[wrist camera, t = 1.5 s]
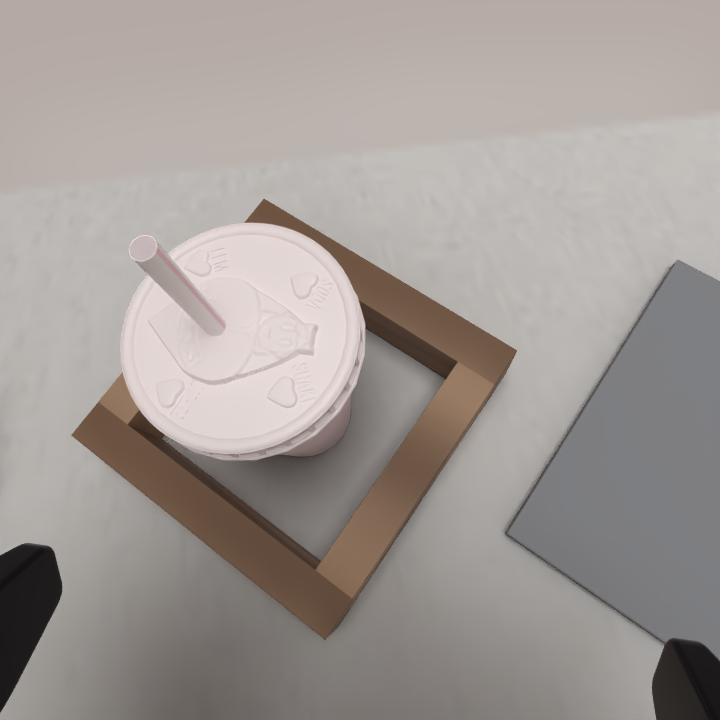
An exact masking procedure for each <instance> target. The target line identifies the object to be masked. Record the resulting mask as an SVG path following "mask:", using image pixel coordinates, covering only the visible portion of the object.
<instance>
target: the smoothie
mask: <svg viewBox="0 0 720 720" xmlns="http://www.w3.org/2000/svg"><path fill="white" fill-rule="evenodd" d="M129 255H130V256H131V258H132V259H133V260H134V261H135V262H136V263H137V264H138V265H139V266H140V267H141V268H142V269H143V270H144V271H145V272H146V273H147V275H146V277H145V278H144V279H143V281H142V282H141V284H140V285H139V287H138V288H137V290H136V292H135V294H134V296H133V298H132V300H131V302H130V305H129V307H128V309H127V313H126V316H125V319H124V323H123V328H122V334H121V345H120V354H121V365H122V370H123V375H124V378H125V382H126V385H127V387H128V390H129V392H130V395H131V397H132V398H133V400H134V402H135V404H136V405H137V407H138V408H139V410H140V411H141V412H142V414H143V415H144V416H145V417H146V418H147V419H148V421H149V422H150V423H151V424H152V425H154V426H155V427H156V428H157V429H158V430H159V431H161V432H162V433H164V434H165V435H166V436H168V437H169V438H171V439H173V440H175V441H176V442H178V443H179V444H181V445H183V446H184V447H186V448H187V449H189V450H191V451H192V452H194V453H198V454H202V455H205V456H209V457H212V458H216V459H220V460H223V461H238V460H259V459H263V458H267V457H270V456H274V455H278V454H281V455H290V456H299V457H309V456H315V455H318V454H321V453H323V452H325V451H327V450H329V449H330V448H332V447H333V446H334V445H335V444H336V443H337V442H338V441H339V440H340V439H341V438H342V436H343V435H344V433H345V431H346V429H347V427H348V424H349V421H350V414H351V396H352V391H353V390H354V388H355V386H356V385H357V381H358V378H359V374H360V371H361V367H362V364H363V360H364V357H365V321H364V317H363V314H362V310H361V307H360V303H359V299H358V296H357V295H356V293H355V291H354V290H353V287H352V285H351V283H350V281H349V279H348V277H347V275H346V274H345V272H344V270H343V269H342V267H341V266H340V265H339V263H338V262H337V261H336V260H335V259H334V258H333V256H332V255H331V254H330V253H329V252H328V251H326V250H325V249H324V248H323V247H322V246H321V245H319V244H318V243H316V242H315V241H313V240H312V239H310V238H308V237H307V236H305V235H303V234H301V233H298V232H296V231H294V230H291V229H288V228H285V227H281V226H277V225H272V224H264V223H238V224H231V225H226V226H221V227H217V228H214V229H211V230H208V231H205V232H203V233H200V234H198V235H196V236H194V237H192V238H190V239H188V240H186V241H185V242H183V243H181V244H180V245H178V246H177V247H175V248H174V249H173V250H171V251H170V252H169V253H166V252H165V251H164V249H163V248H162V247H161V246H160V245H159V244H158V242H157V241H156V240H155V239H154V238H153V237H151V236H149V235H142V236H139V237H137V238H135V239H134V240H133V241H132V242H131V244H130V246H129Z"/></svg>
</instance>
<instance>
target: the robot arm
mask: <svg viewBox="0 0 720 720" xmlns="http://www.w3.org/2000/svg"><path fill="white" fill-rule="evenodd" d="M61 594H62V581H61V577H60V573H59V569H58V565H57V561H56V557H55V553H54V551H53V549H52V548H51V547H49V546H45V545H39V544H32V543H25V544H21V545H19V546H17V547H15V548H13V549H11V550H10V551H8V552H6V553H4V554H2V555H0V712H1V711H2V709H3V707H4V706H5V704H6V702H7V701H8V699H9V697H10V695H11V694H12V692H13V690H14V688H15V686H16V685H17V683H18V681H19V679H20V677H21V675H22V673H23V671H24V669H25V667H26V665H27V663H28V661H29V659H30V657H31V655H32V653H33V652H34V650H35V648H36V646H37V644H38V642H39V640H40V638H41V636H42V634H43V632H44V630H45V628H46V626H47V624H48V622H49V620H50V618H51V616H52V614H53V612H54V611H55V609H56V607H57V605H58V603H59V600H60V597H61ZM652 695H653V702H654V708H655V714H656V720H720V660H719V659H718V658H717V657H716V656H715V655H714V654H713V653H712V652H711V651H710V650H709V648H707V647H706V646H705V645H704V644H702V643H700V642H698V641H692V640H685V639H678V638H670V639H669V640H668V641H667V642H666V644H665V646H664V648H663V651H662V654H661V657H660V660H659V662H658V665H657V668H656V671H655V673H654V677H653V682H652Z"/></svg>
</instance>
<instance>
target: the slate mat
mask: <svg viewBox="0 0 720 720" xmlns="http://www.w3.org/2000/svg"><path fill="white" fill-rule="evenodd" d="M505 534H506V535H508V536H509V537H511V538H512V539H514V540H515V541H516V542H518V543H519V544H521V545H522V546H524V547H525V548H527V549H528V550H529V551H531V552H532V553H534V554H535V555H537V556H538V557H540V558H541V559H543V560H544V561H545V562H547V563H548V564H550V565H551V566H553V567H554V568H556V569H557V570H559V571H560V572H561V573H563V574H564V575H566V576H567V577H569V578H570V579H572V580H573V581H574V582H576V583H577V584H579V585H580V586H582V587H583V588H585V589H586V590H588V591H589V592H590V593H592V594H593V595H595V596H596V597H598V598H599V599H601V600H602V601H604V602H605V603H606V604H608V605H609V606H611V607H612V608H614V609H615V610H617V611H618V612H619V613H621V614H622V615H624V616H625V617H627V618H628V619H630V620H631V621H633V622H634V623H635V624H637V625H638V626H640V627H641V628H643V629H644V630H646V631H647V632H649V633H650V634H651V635H653V636H654V637H656V638H657V639H659V640H660V641H662V642H663V643H664V644H666V642H667V641H668V640H669V639H670V638H678V639H685V640H692V641H698V642H700V643H702V644H704V645H705V646H706V647H707V648H709V650H710V651H711V652H712V653H713V654H714V655H715V656H716V657H717V658H718V659H719V660H720V281H718V280H716V279H714V278H712V277H710V276H709V275H707V274H705V273H703V272H701V271H699V270H697V269H695V268H693V267H691V266H689V265H687V264H685V263H684V262H682V261H680V260H677V261H676V262H675V263H674V264H673V265H672V267H671V268H670V270H669V272H668V273H667V275H666V276H665V278H664V280H663V281H662V283H661V284H660V286H659V288H658V289H657V291H656V292H655V294H654V296H653V297H652V299H651V300H650V302H649V304H648V305H647V307H646V308H645V310H644V312H643V313H642V315H641V316H640V318H639V320H638V321H637V323H636V324H635V326H634V328H633V329H632V331H631V333H630V334H629V336H628V337H627V339H626V341H625V342H624V344H623V345H622V347H621V349H620V350H619V352H618V353H617V355H616V357H615V358H614V360H613V361H612V363H611V365H610V366H609V368H608V369H607V371H606V373H605V374H604V376H603V377H602V379H601V381H600V382H599V384H598V385H597V387H596V389H595V390H594V392H593V393H592V395H591V397H590V398H589V400H588V401H587V403H586V405H585V406H584V408H583V409H582V411H581V413H580V414H579V416H578V418H577V419H576V421H575V422H574V424H573V426H572V427H571V429H570V430H569V432H568V434H567V435H566V437H565V438H564V440H563V442H562V443H561V445H560V446H559V448H558V450H557V451H556V453H555V454H554V456H553V458H552V459H551V461H550V462H549V464H548V466H547V467H546V469H545V470H544V472H543V474H542V475H541V477H540V478H539V480H538V482H537V483H536V485H535V486H534V488H533V490H532V491H531V493H530V494H529V496H528V498H527V499H526V501H525V503H524V504H523V506H522V507H521V509H520V511H519V512H518V514H517V515H516V517H515V519H514V520H513V522H512V523H511V525H510V527H509V528H508V530H507V531H506V533H505Z"/></svg>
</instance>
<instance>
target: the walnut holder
mask: <svg viewBox="0 0 720 720" xmlns="http://www.w3.org/2000/svg"><path fill="white" fill-rule="evenodd" d="M245 223H264V224H272V225H277V226H281V227H285V228H288V229H291V230H294V231H296V232H298V233H301V234H303V235H305V236H307V237H308V238H310V239H312V240H313V241H315V242H316V243H318V244H319V245H321V246H322V247H323V248H324V249H325V250H326V251H328V252H329V253H330V254H331V255H332V256H333V258H334V259H335V260H336V261H337V262H338V263H339V265H340V266H341V267H342V269H343V270H344V272H345V274H346V275H347V277H348V279H349V281H350V283H351V285H352V287H353V290H354V291H355V293H356V295H357V296H358V299H359V303H360V307H361V310H362V314H363V317H364V321H365V328H367V329H368V330H370V331H371V332H373V333H375V334H376V335H378V336H379V337H381V338H382V339H384V340H386V341H387V342H389V343H390V344H392V345H393V346H395V347H397V348H398V349H400V350H401V351H403V352H404V353H406V354H408V355H409V356H411V357H412V358H414V359H416V360H417V361H419V362H420V363H422V364H423V365H425V366H427V367H428V368H430V369H431V370H433V371H434V372H436V373H438V374H439V375H441V376H442V377H444V378H445V379H446V380H445V381H444V383H443V384H442V386H441V387H440V389H439V390H438V392H437V393H436V395H435V396H434V398H433V399H432V400H431V402H430V403H429V405H428V406H427V408H426V409H425V411H424V412H423V414H422V415H421V417H420V418H419V419H418V421H417V422H416V424H415V425H414V427H413V428H412V430H411V431H410V433H409V434H408V436H407V437H406V438H405V440H404V441H403V443H402V444H401V446H400V447H399V449H398V450H397V452H396V453H395V455H394V456H393V457H392V459H391V460H390V462H389V463H388V465H387V466H386V468H385V469H384V471H383V472H382V474H381V475H380V476H379V478H378V479H377V481H376V482H375V484H374V485H373V487H372V488H371V490H370V491H369V492H368V494H367V495H366V497H365V498H364V500H363V501H362V503H361V504H360V506H359V507H358V509H357V510H356V511H355V513H354V514H353V516H352V517H351V519H350V520H349V522H348V523H347V525H346V526H345V528H344V529H343V530H342V532H341V533H340V535H339V536H338V538H337V539H336V541H335V542H334V544H333V545H332V547H331V548H330V549H329V551H328V552H327V554H326V555H325V557H324V558H323V560H322V561H320V560H319V559H317V558H316V557H315V556H313V555H312V554H311V553H309V552H308V551H307V550H305V549H304V548H303V547H302V546H300V545H299V544H298V543H296V542H295V541H294V540H292V539H291V538H290V537H289V536H287V535H286V534H285V533H283V532H282V531H281V530H279V529H278V528H277V527H276V526H274V525H273V524H272V523H270V522H269V521H268V520H266V519H265V518H264V517H263V516H261V515H260V514H259V513H257V512H256V511H255V510H253V509H252V508H251V507H249V506H248V505H247V504H246V503H244V502H243V501H242V500H240V499H239V498H238V497H236V496H235V495H234V494H233V493H231V492H230V491H229V490H227V489H226V488H225V487H223V486H222V485H221V484H220V483H218V482H217V481H216V480H214V479H213V478H212V477H210V476H209V475H208V474H206V473H205V472H204V471H203V470H201V469H200V468H199V467H197V466H196V465H195V464H193V463H192V462H191V461H190V460H188V459H187V458H186V457H184V456H183V455H182V454H180V453H179V452H178V451H177V450H175V449H174V448H173V447H171V446H170V445H169V444H167V443H166V442H165V441H164V440H162V439H161V438H162V437H163V436H164V433H162V432H161V431H159V430H158V429H157V428H156V427H155V426H154V425H152V424H151V423H150V422H149V421H148V419H147V418H146V417H145V416H144V415H143V414H142V412H141V411H140V410H139V408H138V407H137V405H136V404H135V402H134V400H133V398H132V397H131V395H130V392H129V390H128V387H127V385H126V382H125V378H124V375H123V372H122V374H121V375H120V376H119V377H118V379H117V380H116V381H115V382H114V384H113V385H112V386H111V387H110V388H109V390H108V391H107V392H106V393H105V395H104V396H103V397H102V398H101V400H100V401H99V402H98V403H97V404H96V406H95V407H94V408H93V409H92V411H91V412H90V413H89V414H88V415H87V417H86V418H85V419H84V420H83V422H82V423H81V424H80V425H79V427H78V428H77V429H76V430H75V431H74V433H73V434H72V436H73V437H74V438H75V439H77V440H78V441H79V442H80V443H82V444H83V445H84V446H85V447H87V448H88V449H89V450H90V451H91V452H93V453H94V454H95V455H96V456H98V457H99V458H100V459H101V460H103V461H104V462H105V463H106V464H108V465H109V466H110V467H111V468H113V469H114V470H115V471H116V472H118V473H119V474H120V475H121V476H122V477H124V478H125V479H126V480H127V481H129V482H130V483H131V484H132V485H134V486H135V487H136V488H137V489H139V490H140V491H141V492H142V493H144V494H145V495H146V496H147V497H149V498H150V499H151V500H152V501H153V502H155V503H156V504H157V505H158V506H160V507H161V508H162V509H163V510H165V511H166V512H167V513H168V514H170V515H171V516H172V517H173V518H175V519H176V520H177V521H178V522H180V523H181V524H182V525H183V526H185V527H186V528H187V529H188V530H189V531H191V532H192V533H193V534H194V535H196V536H197V537H198V538H199V539H201V540H202V541H203V542H204V543H206V544H207V545H208V546H209V547H211V548H212V549H213V550H214V551H216V552H217V553H218V554H219V555H220V556H222V557H223V558H224V559H225V560H227V561H228V562H229V563H230V564H232V565H233V566H234V567H235V568H237V569H238V570H239V571H240V572H242V573H243V574H244V575H245V576H247V577H248V578H249V579H250V580H251V581H253V582H254V583H255V584H256V585H258V586H259V587H260V588H261V589H263V590H264V591H265V592H266V593H268V594H269V595H270V596H271V597H273V598H274V599H275V600H276V601H278V602H279V603H280V604H281V605H283V606H284V607H285V608H286V609H287V610H289V611H290V612H291V613H292V614H294V615H295V616H296V617H297V618H299V619H300V620H301V621H302V622H304V623H305V624H306V625H307V626H309V627H310V628H311V629H312V630H314V631H315V632H316V633H317V634H318V635H320V636H321V637H322V638H323V639H326V638H327V637H328V636H329V635H330V634H331V633H332V632H333V631H334V630H335V629H336V628H337V627H338V626H339V624H340V623H341V621H342V620H343V618H344V617H345V615H346V614H347V612H348V611H349V609H350V608H351V606H352V605H353V603H354V602H355V600H356V599H357V597H358V596H359V594H360V593H361V591H362V590H363V588H364V587H365V585H366V584H367V582H368V581H369V579H370V578H371V576H372V575H373V573H374V572H375V570H376V569H377V567H378V566H379V564H380V563H381V561H382V559H383V558H384V556H385V555H386V553H387V552H388V550H389V549H390V547H391V546H392V544H393V543H394V541H395V540H396V538H397V537H398V535H399V534H400V532H401V531H402V529H403V528H404V526H405V525H406V523H407V522H408V520H409V519H410V517H411V516H412V514H413V513H414V511H415V510H416V508H417V507H418V505H419V504H420V502H421V501H422V499H423V498H424V496H425V495H426V493H427V492H428V490H429V489H430V487H431V486H432V484H433V483H434V481H435V480H436V478H437V476H438V475H439V473H440V472H441V470H442V469H443V467H444V466H445V464H446V463H447V461H448V460H449V458H450V457H451V455H452V454H453V452H454V451H455V449H456V448H457V446H458V445H459V443H460V442H461V440H462V439H463V437H464V436H465V434H466V433H467V431H468V430H469V428H470V427H471V425H472V424H473V422H474V421H475V419H476V418H477V416H478V415H479V413H480V412H481V410H482V409H483V407H484V406H485V404H486V403H487V401H488V400H489V398H490V397H491V395H492V393H493V392H494V390H495V389H496V387H497V386H498V384H499V383H500V381H501V380H502V378H503V377H504V375H505V374H506V372H507V370H508V368H509V366H510V364H511V362H512V360H513V358H514V356H515V354H516V352H517V350H515V349H514V348H512V347H510V346H509V345H507V344H505V343H504V342H502V341H500V340H499V339H497V338H495V337H494V336H492V335H490V334H489V333H487V332H485V331H484V330H482V329H480V328H479V327H477V326H475V325H474V324H472V323H470V322H469V321H467V320H465V319H464V318H462V317H460V316H459V315H457V314H455V313H454V312H452V311H450V310H449V309H447V308H445V307H444V306H442V305H440V304H439V303H437V302H435V301H434V300H432V299H430V298H429V297H427V296H425V295H424V294H422V293H420V292H419V291H417V290H415V289H414V288H412V287H410V286H409V285H407V284H405V283H404V282H402V281H400V280H399V279H397V278H395V277H394V276H392V275H390V274H389V273H387V272H385V271H384V270H382V269H380V268H379V267H377V266H375V265H374V264H372V263H370V262H369V261H367V260H365V259H364V258H362V257H360V256H359V255H357V254H355V253H354V252H352V251H350V250H349V249H347V248H345V247H344V246H342V245H340V244H339V243H337V242H335V241H334V240H332V239H330V238H329V237H327V236H325V235H324V234H322V233H320V232H319V231H317V230H315V229H314V228H312V227H310V226H309V225H307V224H305V223H304V222H302V221H300V220H299V219H297V218H295V217H294V216H292V215H290V214H289V213H287V212H285V211H284V210H282V209H280V208H279V207H277V206H275V205H274V204H272V203H270V202H269V201H267V200H265V199H263V201H262V202H261V203H260V204H259V205H258V207H257V208H256V209H255V210H254V212H253V213H252V214H251V215H250V216H249V218H248V219H247V220H246V221H245Z"/></svg>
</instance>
